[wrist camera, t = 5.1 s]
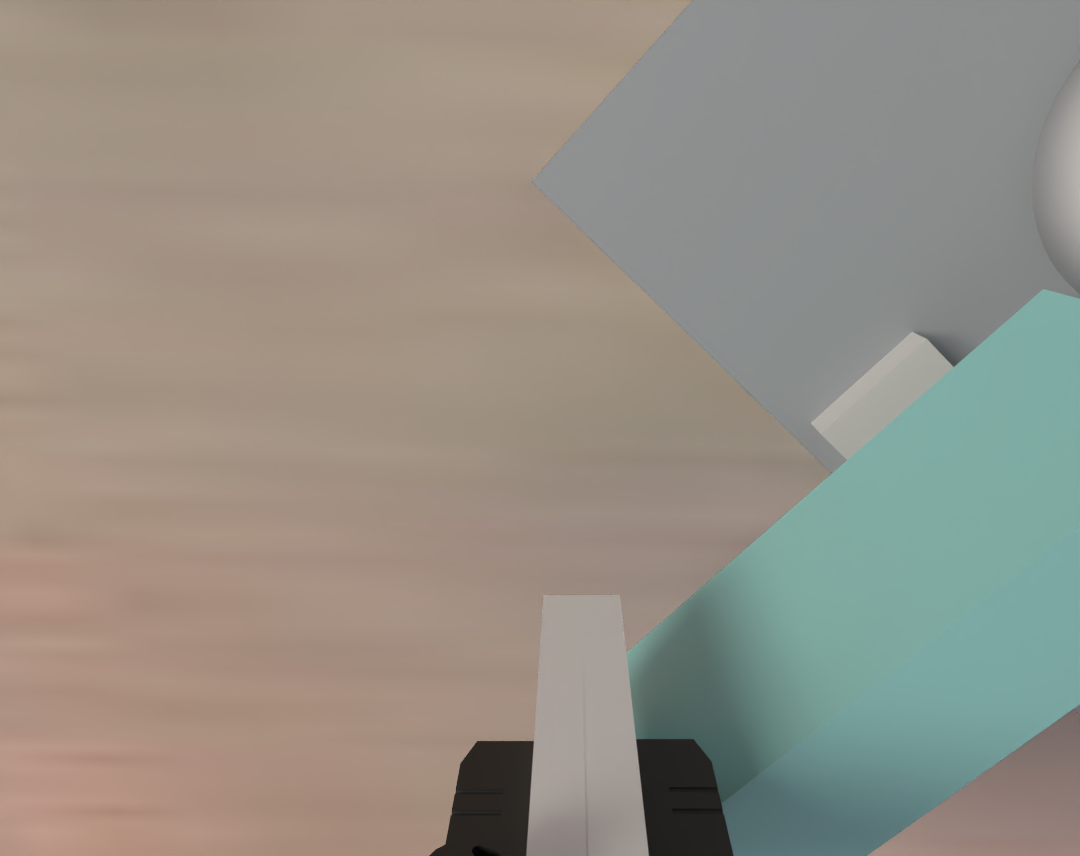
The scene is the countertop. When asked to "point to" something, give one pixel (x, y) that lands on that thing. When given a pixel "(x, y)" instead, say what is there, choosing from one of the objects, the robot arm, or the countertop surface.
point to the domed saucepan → (893, 611)
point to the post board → (839, 191)
